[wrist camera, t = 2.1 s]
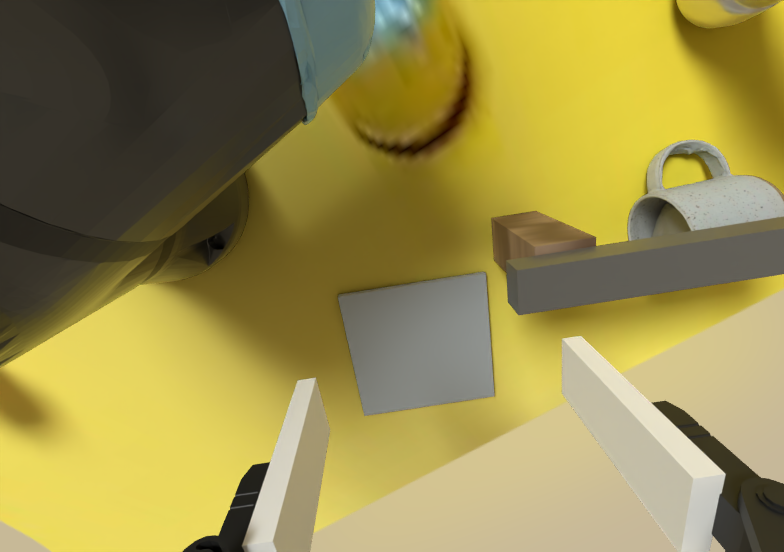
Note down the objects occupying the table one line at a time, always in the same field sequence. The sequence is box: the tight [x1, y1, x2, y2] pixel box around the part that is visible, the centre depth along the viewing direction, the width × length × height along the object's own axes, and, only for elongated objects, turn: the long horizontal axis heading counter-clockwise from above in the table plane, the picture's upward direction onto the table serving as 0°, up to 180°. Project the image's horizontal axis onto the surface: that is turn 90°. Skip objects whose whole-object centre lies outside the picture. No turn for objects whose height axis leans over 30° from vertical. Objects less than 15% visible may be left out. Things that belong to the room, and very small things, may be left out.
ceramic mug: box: [628, 140, 784, 241], centre depth 30 cm, size 11×8×8 cm
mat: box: [338, 272, 494, 416], centre depth 37 cm, size 14×14×1 cm
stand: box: [491, 211, 596, 273], centre depth 29 cm, size 32×4×10 cm, turn 99°
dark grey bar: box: [506, 216, 784, 315], centre depth 23 cm, size 22×3×2 cm, turn 99°
